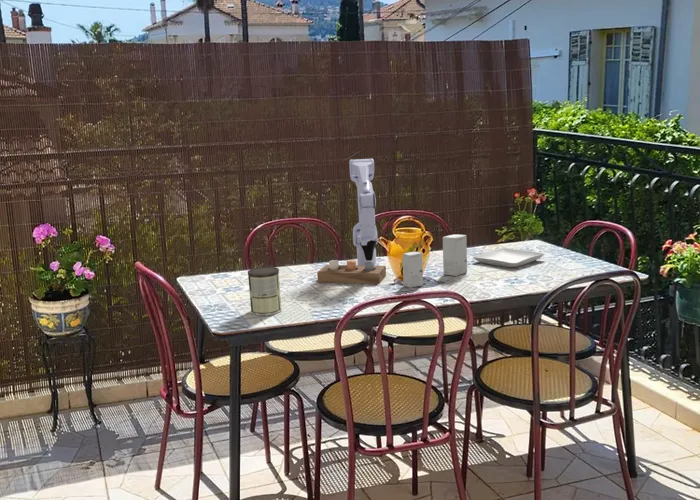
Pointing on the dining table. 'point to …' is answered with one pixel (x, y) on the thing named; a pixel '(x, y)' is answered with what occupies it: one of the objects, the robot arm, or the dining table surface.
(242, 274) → the dining table surface
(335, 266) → the cream plunger
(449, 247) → the skincare box
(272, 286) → the coffee can
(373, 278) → the walnut button box
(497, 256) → the salad plate
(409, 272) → the skincare box
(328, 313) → the dining table surface
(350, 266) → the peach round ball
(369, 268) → the slate plunger
